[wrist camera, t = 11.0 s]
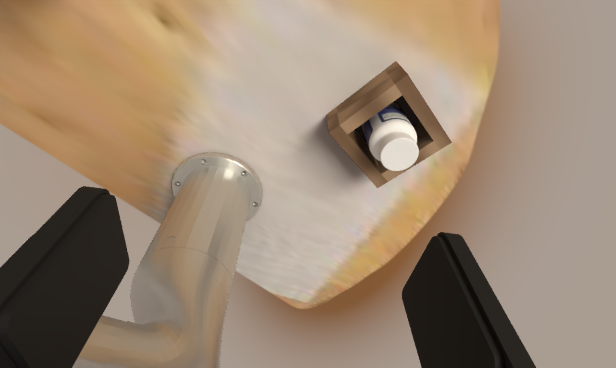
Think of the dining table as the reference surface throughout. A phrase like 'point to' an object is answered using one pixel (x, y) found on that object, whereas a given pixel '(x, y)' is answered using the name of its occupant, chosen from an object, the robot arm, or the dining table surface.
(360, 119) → the well
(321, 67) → the dining table surface
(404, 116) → the pill bottle
